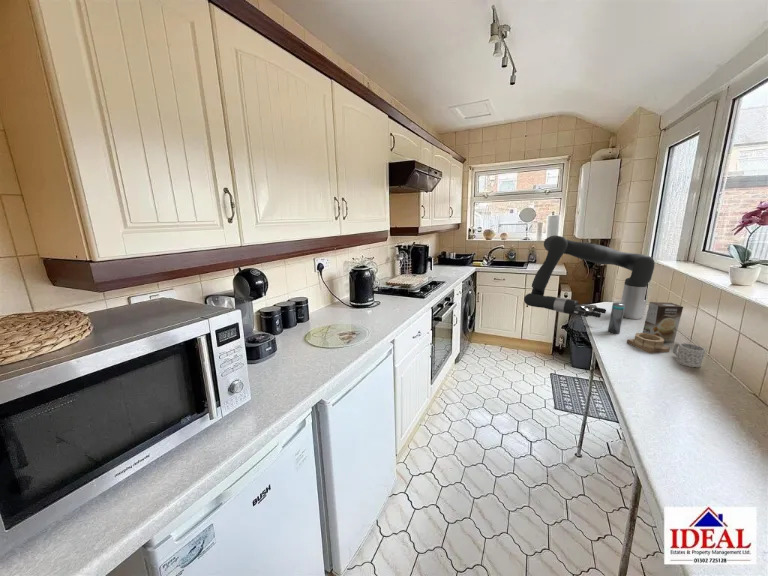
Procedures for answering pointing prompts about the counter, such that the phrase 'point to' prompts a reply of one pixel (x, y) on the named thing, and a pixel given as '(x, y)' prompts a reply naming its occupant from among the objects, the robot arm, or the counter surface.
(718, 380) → the counter surface
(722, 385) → the counter surface
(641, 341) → the dock
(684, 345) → the mug
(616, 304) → the cylinder
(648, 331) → the coffee box
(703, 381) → the counter surface
